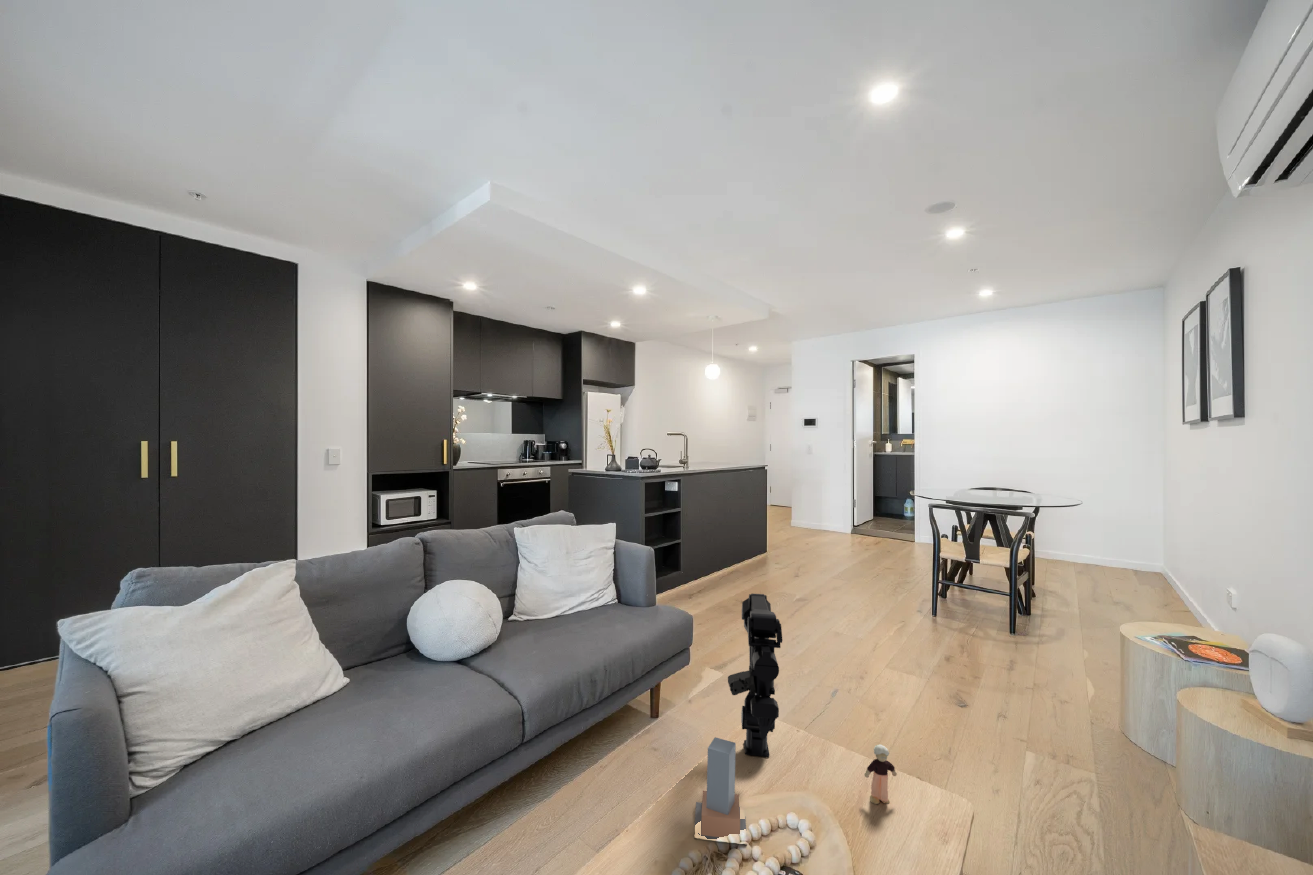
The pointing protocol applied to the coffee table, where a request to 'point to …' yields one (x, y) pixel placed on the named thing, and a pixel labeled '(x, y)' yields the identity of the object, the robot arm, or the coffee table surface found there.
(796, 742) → the coffee table surface
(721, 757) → the slate column brick
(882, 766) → the grandmother figurine
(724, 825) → the tower base
